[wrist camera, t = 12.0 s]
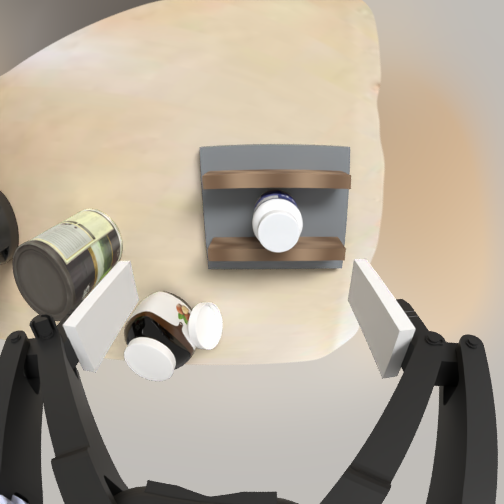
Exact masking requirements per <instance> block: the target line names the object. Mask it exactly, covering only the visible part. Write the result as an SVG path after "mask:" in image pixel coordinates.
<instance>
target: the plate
mask: <svg viewBox="0 0 504 504" xmlns="http://www.w3.org/2000/svg"><path fill="white" fill-rule="evenodd" d="M200 164H201V181H202V176H203V175H204V174H206V173H207V172H208V171H223V170H263V169H292V170H332V171H343V172H345V173H347V174H349V172H350V147H344V146H326V145H297V144H253V145H224V146H206V147H200ZM275 189H277V190H282V191H285V192H287V193H288V194H290V195H291V196H292V197H293V199H294V200H295V202H296V204H297V206H298V209H299V211H300V213H301V216H302V220H303V228H302V232H301V234H300V236H299V237H338V238H339V239H340V241H341V242H342V244H343V245H344V244H345V233H346V222H347V208H348V193H349V189H333V188H226V189H203V181H202V197H203V211H204V224H205V236H206V247H207V258H208V247H209V245H210V243H211V241H212V239H213V237H256V236H255V234H254V231H253V227H252V219H253V213H254V206H255V203H256V201H257V199H258V198H259V197H260V196H261V195H262V194H263V193H265V192H266V191H269V190H275ZM342 263H343V260H331V261H209V259H208V269H315V268H342Z"/></svg>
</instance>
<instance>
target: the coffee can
mask: <svg viewBox="0 0 504 504" xmlns="http://www.w3.org/2000/svg"><path fill="white" fill-rule="evenodd" d="M121 255H122V239H121V235H120V232H119V230H118V228H117V226H116V224H115V223H114V222H113V220H112V219H111V218H110V217H109V216H107V215H106V214H105V213H103V212H101V211H99V210H96V209H85V210H82V211H80V212H79V213H77V214H76V215H74V216H72V217H70V218H68V219H66V220H65V221H63V222H61V223H59V224H57V225H56V226H54V227H52V228H50V229H48V230H47V231H45V232H43V233H42V234H40V235H38V236H36V237H35V238H33V239H31V240H30V241H27V242H25V243H23V244H21V245H20V246H18V248H17V249H16V251H15V253H14V256H13V274H14V278H15V281H16V284H17V287H18V289H19V291H20V293H21V295H22V296H23V298H24V299H25V301H26V302H27V303H28V304H29V306H30V307H31V308H32V309H33V310H34V311H36V312H37V313H38V314H39V315H40V314H44V313H49V314H51V315H52V316H53V318H54V321H61V320H62V319H63V318H64V317H65V316H66V315H67V313H68V312H69V311H71V309H72V308H73V306H74V305H75V304H76V303H78V302H79V301H81V300H82V299H83V298H84V297H85V296H86V295H87V294H88V293H89V292H90V291H91V290H92V288H93V287H94V286H95V285H96V284H97V283H98V282H99V281H100V280H101V279H102V278H103V277H104V276H105V275H106V274H107V273H108V272H109V271H110V270H111V269H112V268H113V267H114V266H115V265H116V264H117V263H118V262H119V260H120V258H121Z"/></svg>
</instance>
